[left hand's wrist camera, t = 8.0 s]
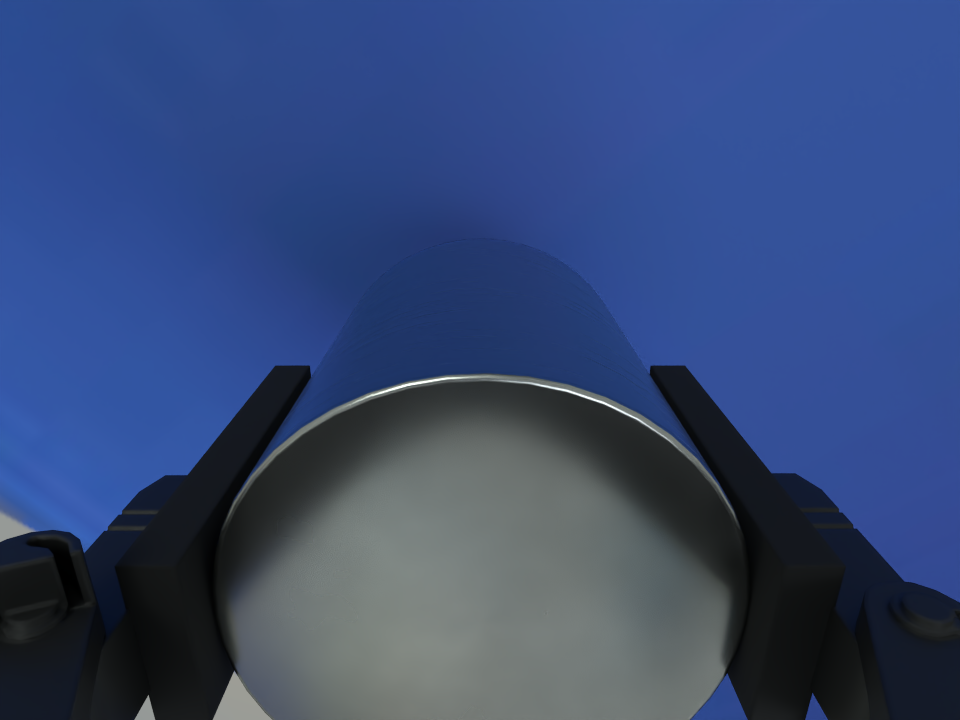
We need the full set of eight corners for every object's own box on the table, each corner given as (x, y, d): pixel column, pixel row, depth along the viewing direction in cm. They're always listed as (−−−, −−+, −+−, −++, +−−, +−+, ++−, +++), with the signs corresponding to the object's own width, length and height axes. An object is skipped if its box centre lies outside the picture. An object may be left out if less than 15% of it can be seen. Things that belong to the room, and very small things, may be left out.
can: (515, 174, 15) (555, 247, 7) (675, 406, 17) (845, 663, 9) (279, 351, 16) (92, 575, 8) (453, 541, 18) (434, 859, 11)
